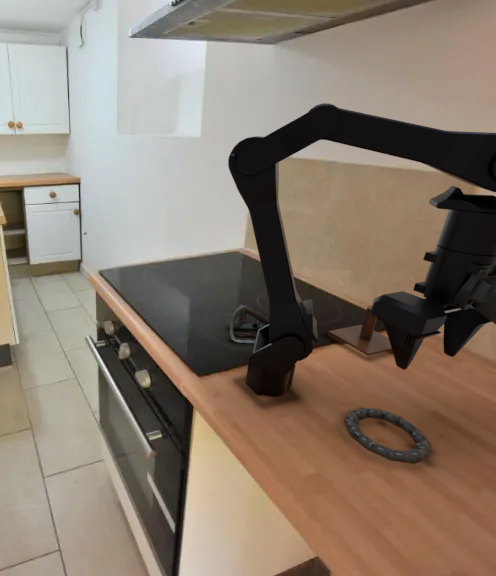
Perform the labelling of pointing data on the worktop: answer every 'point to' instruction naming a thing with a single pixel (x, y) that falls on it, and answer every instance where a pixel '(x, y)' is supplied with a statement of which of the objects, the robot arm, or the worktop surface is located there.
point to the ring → (410, 456)
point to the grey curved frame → (246, 324)
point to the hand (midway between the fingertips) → (425, 361)
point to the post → (363, 336)
